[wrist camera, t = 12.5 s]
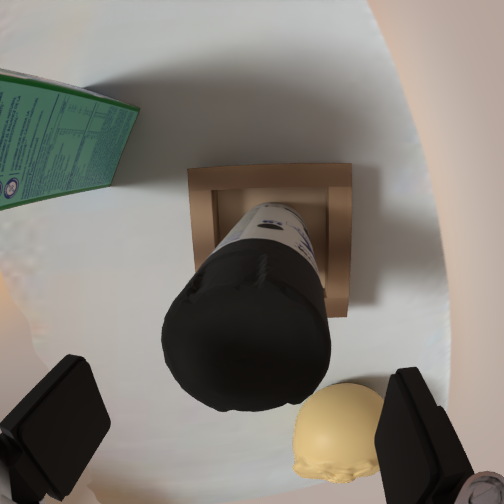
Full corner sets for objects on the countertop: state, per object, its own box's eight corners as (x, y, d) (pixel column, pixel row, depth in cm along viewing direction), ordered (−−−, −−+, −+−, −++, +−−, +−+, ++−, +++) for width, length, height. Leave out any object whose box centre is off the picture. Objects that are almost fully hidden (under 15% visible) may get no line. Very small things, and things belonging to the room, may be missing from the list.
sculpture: (290, 436, 39) (287, 499, 28) (298, 369, 35) (299, 437, 25) (370, 435, 37) (383, 495, 27) (392, 369, 34) (417, 431, 24)
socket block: (198, 168, 30) (187, 168, 27) (344, 163, 29) (351, 163, 26) (208, 302, 34) (200, 317, 31) (341, 302, 33) (347, 317, 29)
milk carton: (141, 108, 29) (-79, 62, 5) (110, 187, 32) (-104, 245, 8) (80, 87, 29) (-110, 55, 5) (54, 159, 32) (-134, 188, 8)
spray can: (314, 262, 31) (345, 408, 12) (245, 276, 32) (188, 424, 13) (300, 194, 29) (322, 251, 10) (229, 210, 30) (131, 288, 11)
